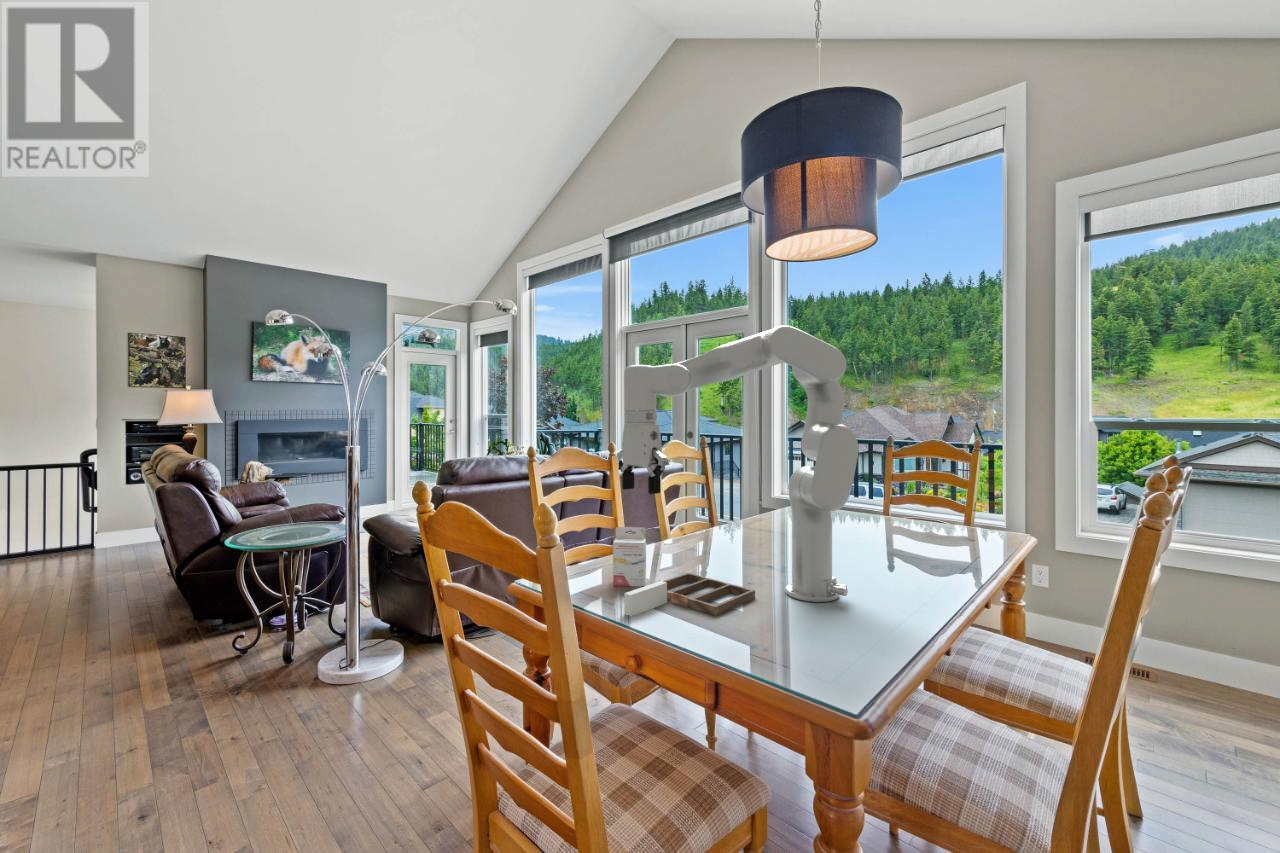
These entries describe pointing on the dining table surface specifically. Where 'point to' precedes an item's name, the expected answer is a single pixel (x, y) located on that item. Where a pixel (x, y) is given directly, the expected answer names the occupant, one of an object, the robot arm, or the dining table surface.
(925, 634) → the dining table surface
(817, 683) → the dining table surface
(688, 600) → the rack
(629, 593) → the panel
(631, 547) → the ink cartridge box
